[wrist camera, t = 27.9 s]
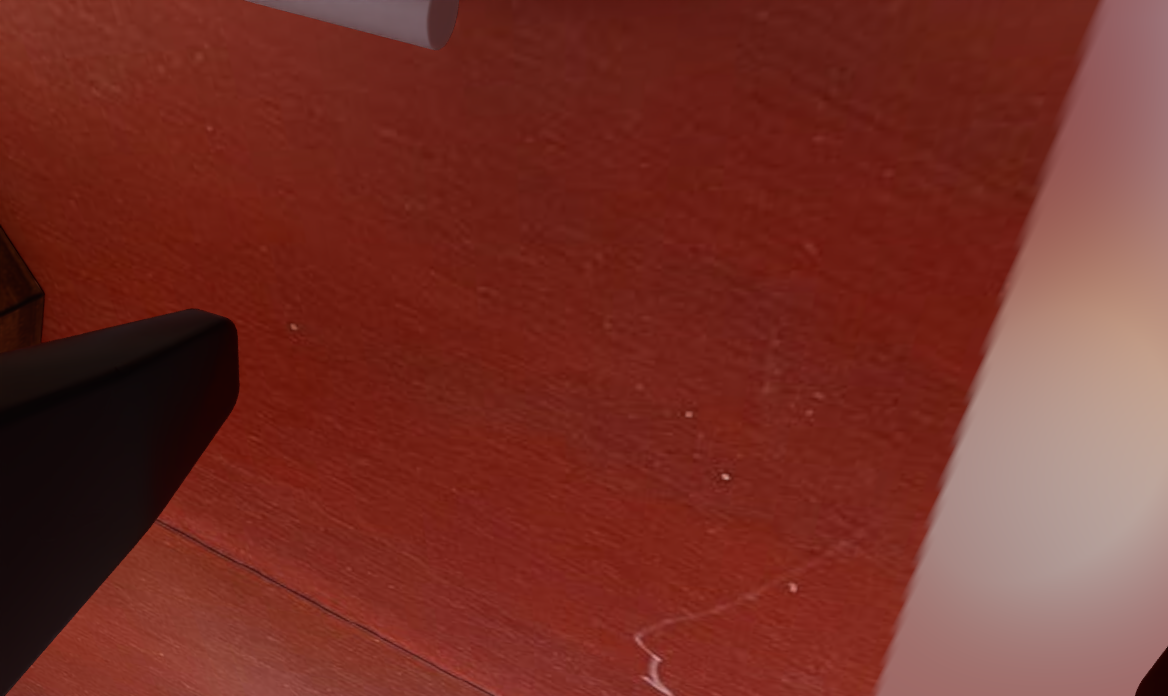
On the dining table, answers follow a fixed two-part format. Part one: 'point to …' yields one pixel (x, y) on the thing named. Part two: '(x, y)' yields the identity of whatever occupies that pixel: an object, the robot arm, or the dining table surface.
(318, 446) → the dining table surface
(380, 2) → the drawer
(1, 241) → the mug
